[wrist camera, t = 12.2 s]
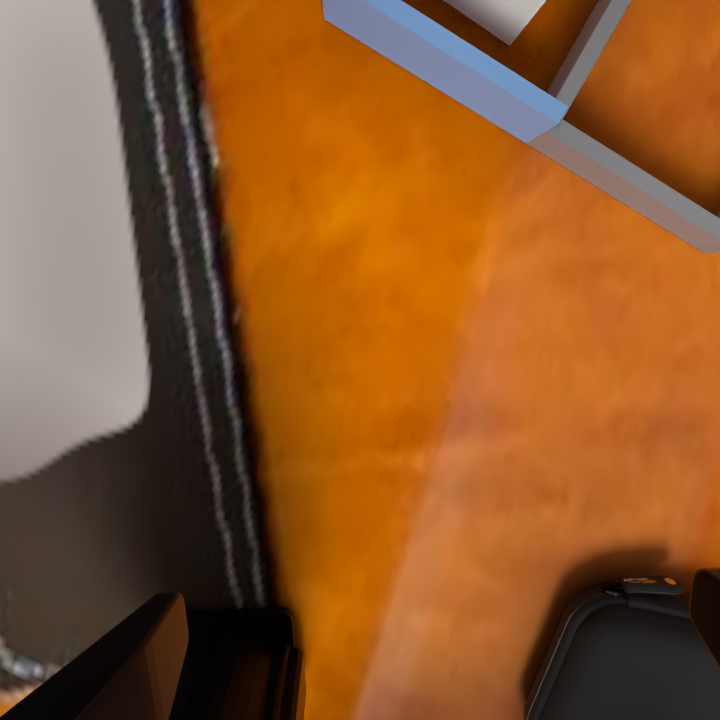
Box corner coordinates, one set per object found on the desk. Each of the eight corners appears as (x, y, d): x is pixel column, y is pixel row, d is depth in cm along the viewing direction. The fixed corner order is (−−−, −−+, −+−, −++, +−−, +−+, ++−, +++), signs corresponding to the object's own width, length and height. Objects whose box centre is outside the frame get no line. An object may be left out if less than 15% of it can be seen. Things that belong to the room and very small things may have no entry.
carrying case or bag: (836, 602, 25) (573, 541, 23) (903, 649, 22) (606, 584, 21) (748, 758, 27) (504, 711, 26) (797, 821, 24) (524, 771, 23)
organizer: (848, 37, 18) (944, -3, 15) (704, 253, 20) (765, 253, 17) (449, -253, 16) (472, -365, 13) (324, 18, 18) (319, -27, 15)
